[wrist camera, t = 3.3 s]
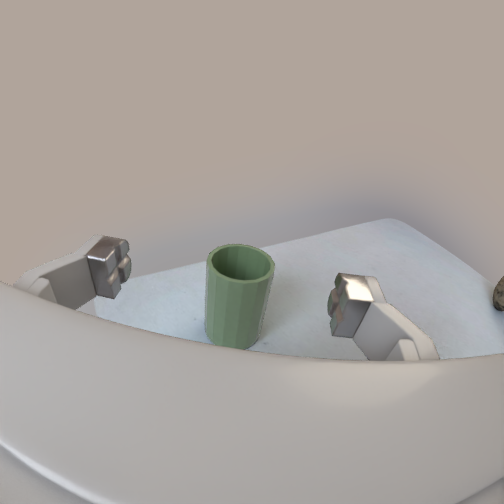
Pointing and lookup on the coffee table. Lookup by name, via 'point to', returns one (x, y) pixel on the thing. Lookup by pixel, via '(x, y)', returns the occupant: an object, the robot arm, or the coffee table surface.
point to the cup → (236, 294)
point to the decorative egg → (499, 295)
